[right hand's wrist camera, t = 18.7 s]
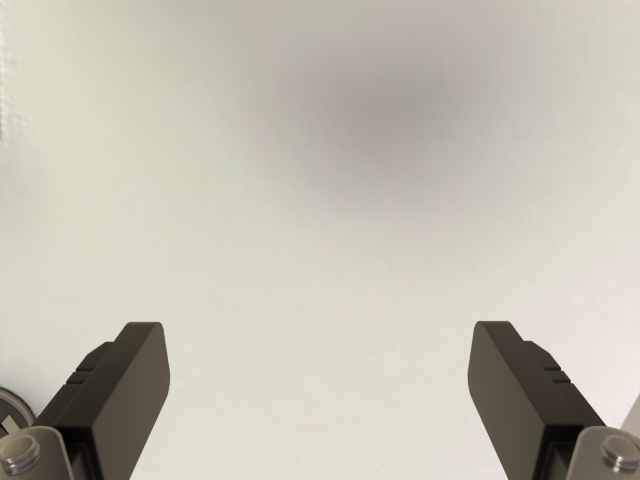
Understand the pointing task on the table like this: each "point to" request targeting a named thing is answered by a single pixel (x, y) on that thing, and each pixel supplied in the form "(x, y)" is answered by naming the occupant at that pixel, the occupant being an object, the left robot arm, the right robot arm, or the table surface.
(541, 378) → the right robot arm
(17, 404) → the left robot arm
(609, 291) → the table surface
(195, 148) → the table surface
